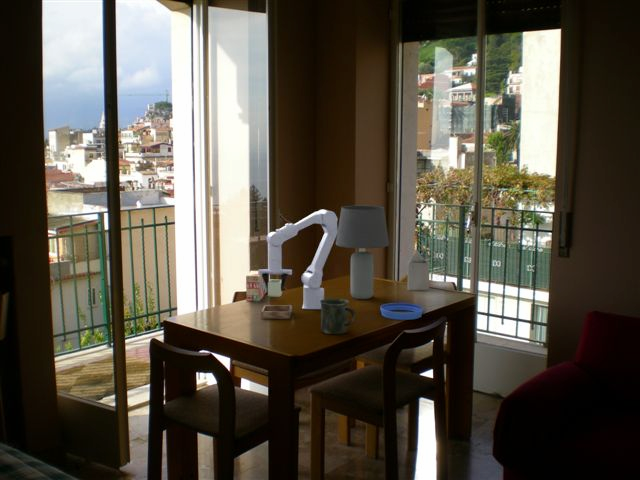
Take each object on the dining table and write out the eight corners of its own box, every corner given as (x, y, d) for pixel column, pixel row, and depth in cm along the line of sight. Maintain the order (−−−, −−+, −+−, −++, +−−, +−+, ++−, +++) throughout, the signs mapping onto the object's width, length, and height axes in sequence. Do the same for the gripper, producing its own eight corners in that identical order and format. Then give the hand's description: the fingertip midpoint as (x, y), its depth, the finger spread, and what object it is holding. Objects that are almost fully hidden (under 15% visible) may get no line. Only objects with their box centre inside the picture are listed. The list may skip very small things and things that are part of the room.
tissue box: (421, 292, 338) (422, 253, 336) (407, 290, 343) (407, 252, 341) (436, 287, 351) (437, 249, 349) (422, 285, 356) (423, 248, 353)
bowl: (395, 322, 281) (395, 314, 281) (372, 313, 297) (372, 305, 297) (431, 317, 290) (431, 309, 289) (407, 308, 305) (407, 301, 305)
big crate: (292, 312, 298) (292, 305, 297) (290, 319, 286) (290, 312, 285) (264, 311, 298) (264, 305, 298) (261, 318, 286) (261, 311, 286)
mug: (329, 326, 275) (329, 296, 273) (361, 331, 267) (361, 301, 266) (314, 332, 266) (314, 302, 264) (347, 338, 258) (347, 306, 256)
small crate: (282, 293, 303) (282, 279, 302) (280, 296, 296) (280, 283, 295) (269, 292, 303) (270, 279, 302) (267, 296, 296) (267, 282, 295)
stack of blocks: (254, 291, 340) (254, 267, 339) (267, 291, 340) (267, 267, 338) (246, 301, 319) (245, 275, 317) (259, 301, 319) (259, 275, 317)
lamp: (375, 290, 342) (376, 204, 336) (397, 301, 319) (398, 209, 313) (328, 293, 334) (328, 205, 328) (346, 305, 311) (346, 210, 305)
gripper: (292, 258, 301) (292, 288, 303) (259, 258, 302) (259, 288, 303) (291, 261, 294) (291, 292, 296) (257, 260, 295) (257, 291, 296)
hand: (275, 290), depth 299 cm, fingers closed on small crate, 5 cm apart
